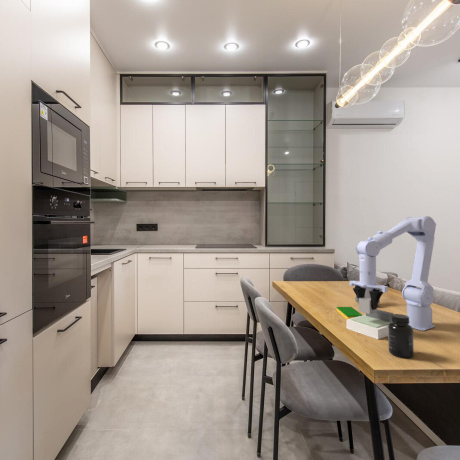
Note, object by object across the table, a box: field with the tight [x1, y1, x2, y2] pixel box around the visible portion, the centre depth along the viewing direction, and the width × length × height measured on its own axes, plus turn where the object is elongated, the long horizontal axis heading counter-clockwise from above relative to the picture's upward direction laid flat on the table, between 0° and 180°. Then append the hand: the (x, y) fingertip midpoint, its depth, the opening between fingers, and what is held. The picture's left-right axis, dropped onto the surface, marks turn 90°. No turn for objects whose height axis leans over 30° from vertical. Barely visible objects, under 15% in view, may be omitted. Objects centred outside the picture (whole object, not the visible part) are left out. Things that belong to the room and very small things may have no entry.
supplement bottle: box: [387, 313, 415, 359], centre depth 89 cm, size 7×7×12 cm
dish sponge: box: [336, 306, 363, 321], centre depth 129 cm, size 7×14×2 cm, turn 178°
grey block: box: [358, 297, 378, 314], centre depth 108 cm, size 4×4×5 cm
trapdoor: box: [352, 308, 394, 328], centre depth 110 cm, size 11×10×4 cm
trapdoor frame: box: [345, 314, 388, 340], centre depth 110 cm, size 14×13×4 cm
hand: (367, 307), depth 108 cm, fingers closed on grey block, 4 cm apart
